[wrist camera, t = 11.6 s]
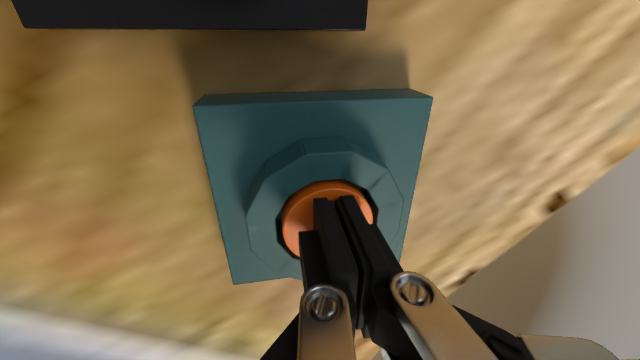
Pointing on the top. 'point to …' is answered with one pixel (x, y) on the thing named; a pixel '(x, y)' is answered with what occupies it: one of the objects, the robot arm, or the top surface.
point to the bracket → (194, 14)
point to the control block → (306, 163)
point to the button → (301, 207)
